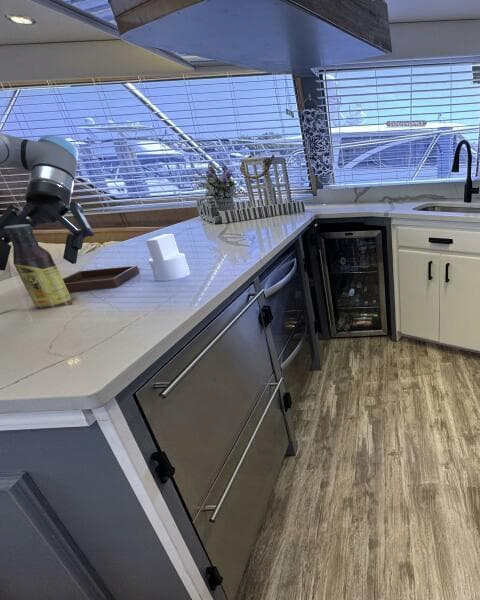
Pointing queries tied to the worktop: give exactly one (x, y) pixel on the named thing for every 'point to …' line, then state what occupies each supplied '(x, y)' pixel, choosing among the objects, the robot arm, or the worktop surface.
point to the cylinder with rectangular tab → (166, 258)
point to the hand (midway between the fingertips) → (34, 264)
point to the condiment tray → (99, 278)
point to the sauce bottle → (37, 269)
